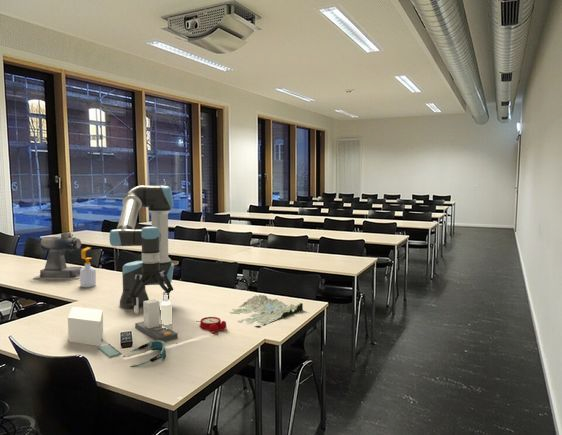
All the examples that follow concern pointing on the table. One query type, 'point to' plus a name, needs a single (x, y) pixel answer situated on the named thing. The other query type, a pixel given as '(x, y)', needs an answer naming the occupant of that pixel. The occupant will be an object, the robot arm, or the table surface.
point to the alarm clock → (212, 324)
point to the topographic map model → (266, 310)
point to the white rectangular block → (85, 326)
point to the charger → (151, 313)
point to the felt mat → (109, 350)
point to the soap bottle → (87, 272)
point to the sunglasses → (156, 345)
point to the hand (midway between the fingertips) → (151, 309)
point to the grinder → (59, 257)
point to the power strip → (157, 332)
